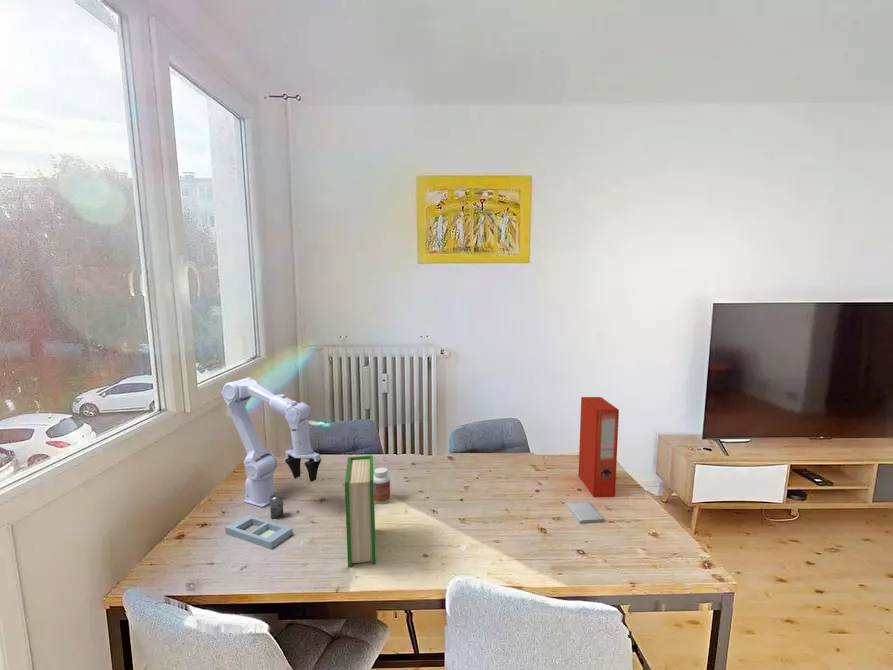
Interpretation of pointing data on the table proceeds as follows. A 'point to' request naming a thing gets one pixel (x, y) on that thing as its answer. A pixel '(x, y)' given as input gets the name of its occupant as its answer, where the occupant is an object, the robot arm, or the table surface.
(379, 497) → the pill bottle
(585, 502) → the hard drive
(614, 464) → the file binder
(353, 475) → the hardback book
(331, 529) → the table surface
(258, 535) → the grey double-hole frame
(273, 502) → the peg
